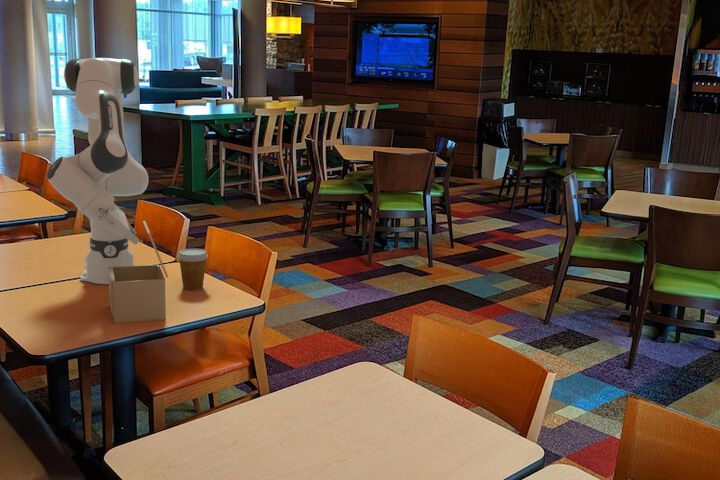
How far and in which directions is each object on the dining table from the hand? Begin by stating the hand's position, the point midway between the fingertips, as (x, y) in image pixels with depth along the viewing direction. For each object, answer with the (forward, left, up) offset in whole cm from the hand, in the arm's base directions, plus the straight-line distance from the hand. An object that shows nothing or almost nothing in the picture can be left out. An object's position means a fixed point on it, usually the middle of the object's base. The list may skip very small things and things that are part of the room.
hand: (136, 238), depth 215 cm
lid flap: (0, +5, -3) cm, 6 cm away
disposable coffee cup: (-21, +19, -23) cm, 36 cm away
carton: (0, 0, -22) cm, 22 cm away
